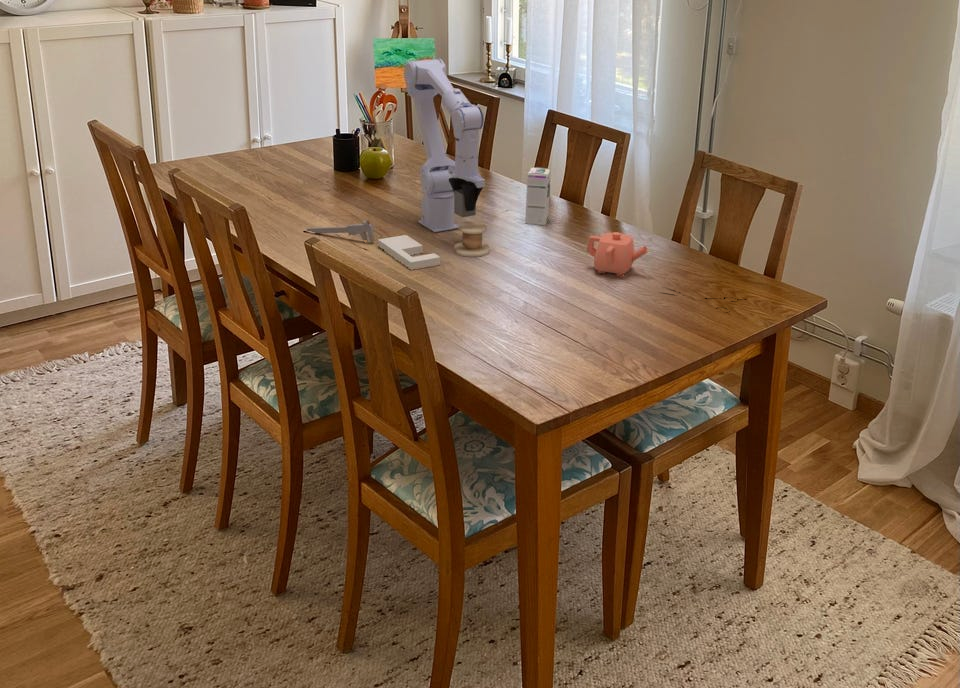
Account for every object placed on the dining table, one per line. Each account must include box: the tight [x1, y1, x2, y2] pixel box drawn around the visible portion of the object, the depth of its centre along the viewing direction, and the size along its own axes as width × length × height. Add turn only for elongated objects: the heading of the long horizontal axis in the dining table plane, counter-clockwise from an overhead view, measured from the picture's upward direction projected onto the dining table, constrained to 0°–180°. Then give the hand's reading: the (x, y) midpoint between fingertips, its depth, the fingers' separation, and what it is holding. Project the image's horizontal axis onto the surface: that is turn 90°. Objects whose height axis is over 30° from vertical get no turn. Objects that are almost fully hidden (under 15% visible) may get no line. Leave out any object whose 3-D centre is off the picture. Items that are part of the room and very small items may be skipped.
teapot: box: [586, 231, 649, 277], centre depth 244 cm, size 12×12×10 cm
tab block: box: [454, 189, 477, 218], centre depth 256 cm, size 4×4×6 cm
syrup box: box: [525, 167, 552, 226], centre depth 275 cm, size 6×6×14 cm
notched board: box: [377, 234, 441, 271], centre depth 250 cm, size 18×8×2 cm, turn 31°
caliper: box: [306, 219, 375, 243], centre depth 260 cm, size 20×1×6 cm, turn 69°
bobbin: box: [453, 221, 491, 258], centre depth 254 cm, size 9×9×6 cm
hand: (465, 207), depth 257 cm, fingers closed on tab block, 4 cm apart
